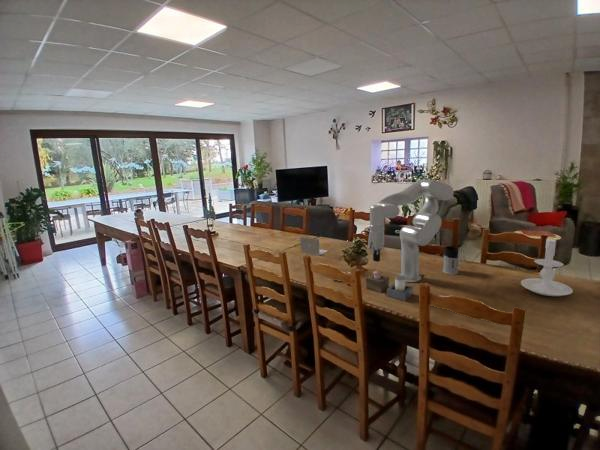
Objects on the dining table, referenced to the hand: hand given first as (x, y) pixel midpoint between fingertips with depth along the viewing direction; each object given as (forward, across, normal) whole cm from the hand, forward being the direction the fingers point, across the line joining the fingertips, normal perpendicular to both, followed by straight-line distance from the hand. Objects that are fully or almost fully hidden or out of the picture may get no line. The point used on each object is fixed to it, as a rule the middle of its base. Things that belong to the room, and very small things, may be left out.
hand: (376, 260), depth 170 cm
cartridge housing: (+16, +1, +14) cm, 21 cm away
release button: (+13, -1, 0) cm, 13 cm away
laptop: (+16, -34, -72) cm, 81 cm away
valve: (+16, +3, -20) cm, 26 cm away
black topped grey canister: (+15, -45, +27) cm, 55 cm away
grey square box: (+16, -1, 0) cm, 16 cm away
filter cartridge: (+16, +1, +14) cm, 21 cm away
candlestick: (+15, -45, +71) cm, 85 cm away
